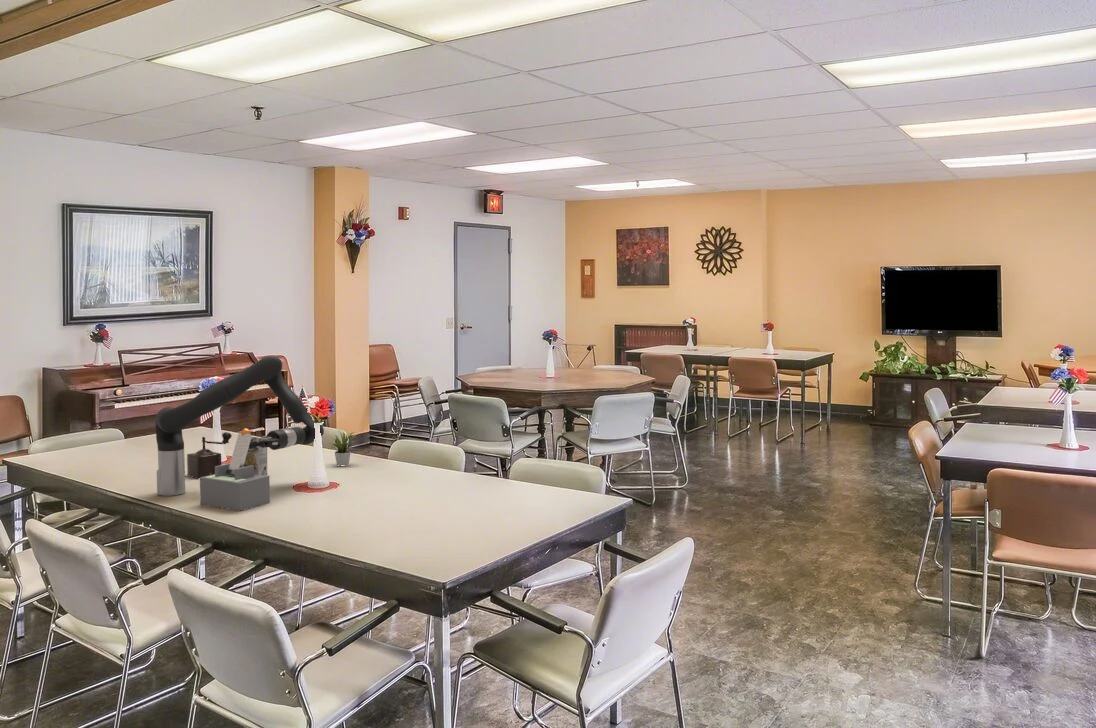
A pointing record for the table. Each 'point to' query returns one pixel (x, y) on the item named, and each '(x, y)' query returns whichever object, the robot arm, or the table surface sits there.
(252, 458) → the coffee box
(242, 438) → the lever
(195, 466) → the manual coffee grinder
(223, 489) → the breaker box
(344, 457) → the house plant
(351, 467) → the table surface
